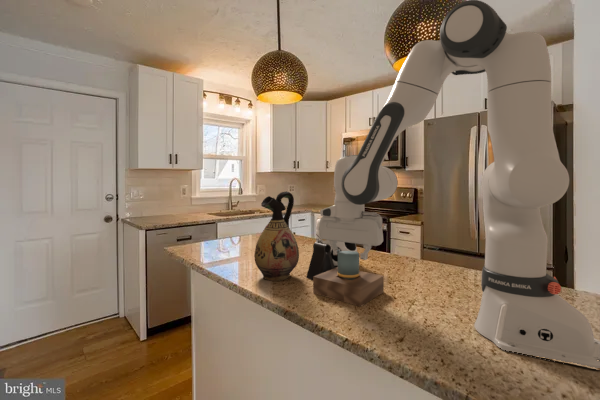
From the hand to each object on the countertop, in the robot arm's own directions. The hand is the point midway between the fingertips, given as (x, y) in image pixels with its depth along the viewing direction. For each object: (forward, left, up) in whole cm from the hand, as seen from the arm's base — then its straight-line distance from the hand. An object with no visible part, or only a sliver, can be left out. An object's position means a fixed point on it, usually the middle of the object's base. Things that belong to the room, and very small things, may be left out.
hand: (349, 257), depth 94 cm
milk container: (+21, -24, -11) cm, 34 cm away
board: (0, 0, -11) cm, 11 cm away
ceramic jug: (+27, +2, -11) cm, 30 cm away
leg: (0, 0, -11) cm, 11 cm away
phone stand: (+15, -7, -11) cm, 20 cm away
